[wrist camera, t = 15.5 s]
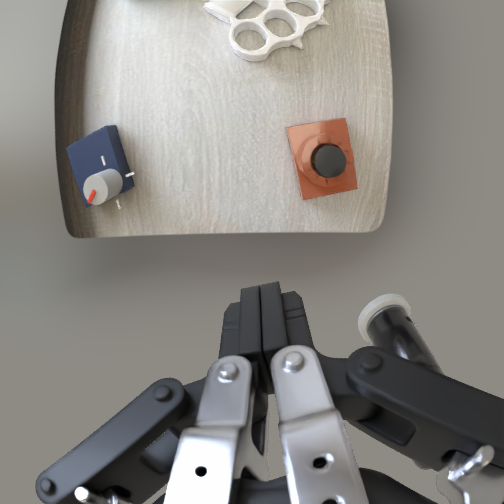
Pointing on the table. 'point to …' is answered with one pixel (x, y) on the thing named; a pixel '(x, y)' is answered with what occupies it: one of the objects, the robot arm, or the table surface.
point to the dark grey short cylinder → (329, 161)
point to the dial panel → (99, 158)
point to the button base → (303, 148)
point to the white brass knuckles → (232, 3)
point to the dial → (102, 186)
